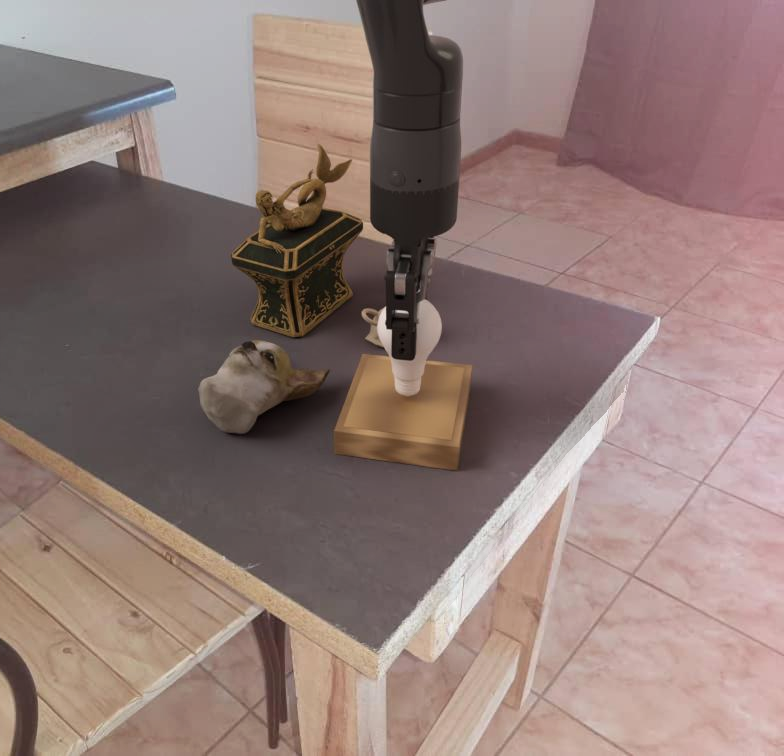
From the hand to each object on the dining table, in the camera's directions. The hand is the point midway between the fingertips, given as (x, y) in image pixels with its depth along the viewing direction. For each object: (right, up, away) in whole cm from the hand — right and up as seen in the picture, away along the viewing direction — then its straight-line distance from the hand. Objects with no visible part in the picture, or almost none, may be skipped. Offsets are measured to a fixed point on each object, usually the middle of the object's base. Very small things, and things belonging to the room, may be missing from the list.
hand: (409, 338), depth 75 cm
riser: (+1, -8, +6) cm, 10 cm away
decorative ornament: (+1, +1, +19) cm, 19 cm away
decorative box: (-8, +6, +27) cm, 29 cm away
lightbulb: (0, -6, +4) cm, 7 cm away
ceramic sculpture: (-15, -7, +9) cm, 19 cm away
